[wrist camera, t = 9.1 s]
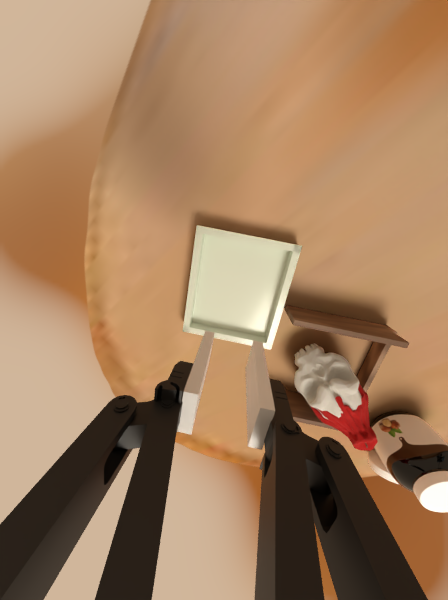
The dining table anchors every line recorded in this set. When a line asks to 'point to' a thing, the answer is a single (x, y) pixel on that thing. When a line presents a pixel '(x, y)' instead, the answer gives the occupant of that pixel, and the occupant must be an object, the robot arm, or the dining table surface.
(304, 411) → the walnut holder
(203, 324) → the sage tray
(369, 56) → the dining table surface
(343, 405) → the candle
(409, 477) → the spread jar
